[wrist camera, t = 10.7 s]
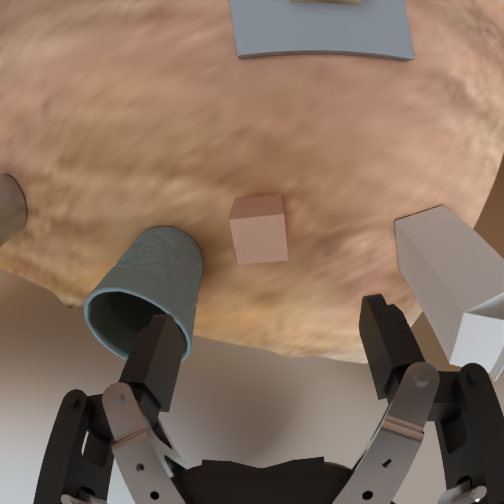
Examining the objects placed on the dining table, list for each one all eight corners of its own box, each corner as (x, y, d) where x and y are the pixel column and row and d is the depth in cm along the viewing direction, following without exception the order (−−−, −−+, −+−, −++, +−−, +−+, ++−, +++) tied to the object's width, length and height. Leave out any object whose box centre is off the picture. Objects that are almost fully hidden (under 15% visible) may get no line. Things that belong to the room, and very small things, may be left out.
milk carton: (398, 269, 31) (463, 398, 15) (393, 219, 27) (487, 354, 11) (443, 252, 29) (520, 364, 13) (442, 203, 26) (548, 312, 10)
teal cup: (130, 212, 28) (73, 276, 18) (218, 228, 29) (193, 306, 19) (133, 282, 34) (95, 352, 23) (207, 298, 34) (188, 378, 24)
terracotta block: (241, 238, 30) (237, 264, 25) (234, 198, 27) (229, 219, 23) (284, 234, 29) (288, 260, 25) (280, 193, 27) (284, 214, 23)
